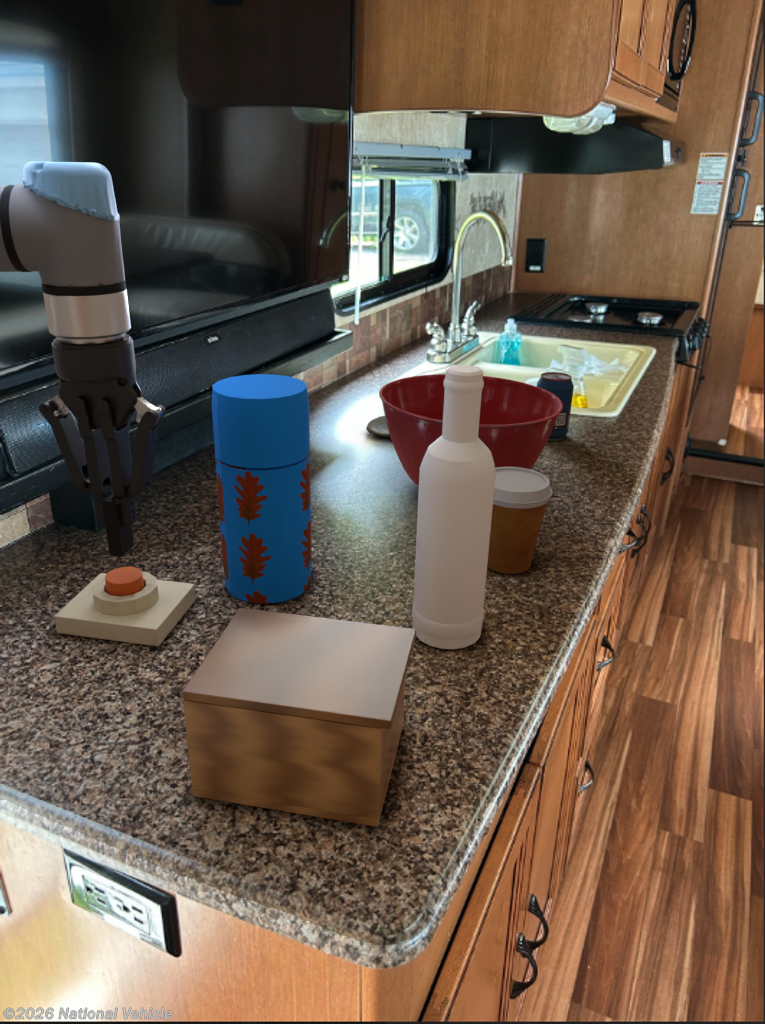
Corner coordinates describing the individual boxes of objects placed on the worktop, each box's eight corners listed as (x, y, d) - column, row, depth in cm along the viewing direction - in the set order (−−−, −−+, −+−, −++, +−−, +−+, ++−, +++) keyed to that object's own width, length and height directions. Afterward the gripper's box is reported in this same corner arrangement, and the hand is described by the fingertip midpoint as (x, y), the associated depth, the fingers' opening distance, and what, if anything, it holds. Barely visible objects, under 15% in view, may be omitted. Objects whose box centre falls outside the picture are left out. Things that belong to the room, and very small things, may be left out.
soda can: (525, 431, 152) (531, 372, 147) (556, 429, 154) (563, 370, 149) (541, 443, 146) (548, 381, 141) (574, 440, 148) (582, 379, 143)
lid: (427, 439, 151) (430, 414, 150) (402, 440, 143) (406, 413, 142) (381, 431, 156) (384, 407, 155) (355, 432, 148) (358, 406, 147)
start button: (100, 595, 85) (97, 581, 84) (117, 577, 89) (116, 564, 88) (133, 599, 85) (131, 585, 84) (150, 581, 88) (148, 568, 87)
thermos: (297, 609, 90) (292, 402, 80) (211, 599, 92) (195, 395, 82) (320, 566, 100) (319, 377, 90) (242, 557, 102) (231, 371, 91)
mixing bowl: (508, 451, 142) (516, 369, 135) (584, 515, 117) (598, 417, 110) (359, 462, 135) (360, 375, 128) (405, 532, 110) (409, 428, 103)
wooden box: (403, 724, 72) (407, 636, 68) (377, 827, 61) (380, 729, 57) (245, 701, 75) (239, 615, 71) (192, 796, 63) (182, 700, 59)
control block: (56, 633, 85) (50, 601, 83) (103, 588, 94) (98, 559, 92) (158, 646, 83) (154, 615, 81) (196, 599, 92) (193, 570, 90)
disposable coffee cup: (529, 587, 96) (539, 499, 91) (459, 568, 100) (465, 483, 95) (552, 557, 104) (563, 474, 99) (486, 540, 108) (493, 460, 103)
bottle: (397, 630, 87) (406, 367, 74) (440, 604, 92) (456, 355, 79) (453, 660, 82) (473, 383, 69) (496, 630, 87) (522, 369, 75)
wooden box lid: (416, 636, 68) (416, 628, 68) (391, 730, 57) (391, 721, 56) (239, 614, 71) (239, 607, 70) (182, 700, 59) (181, 691, 59)
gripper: (171, 331, 77) (191, 541, 87) (52, 324, 79) (85, 530, 89) (135, 347, 70) (162, 573, 80) (7, 339, 73) (48, 560, 82)
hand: (122, 550), depth 85 cm, fingers closed
